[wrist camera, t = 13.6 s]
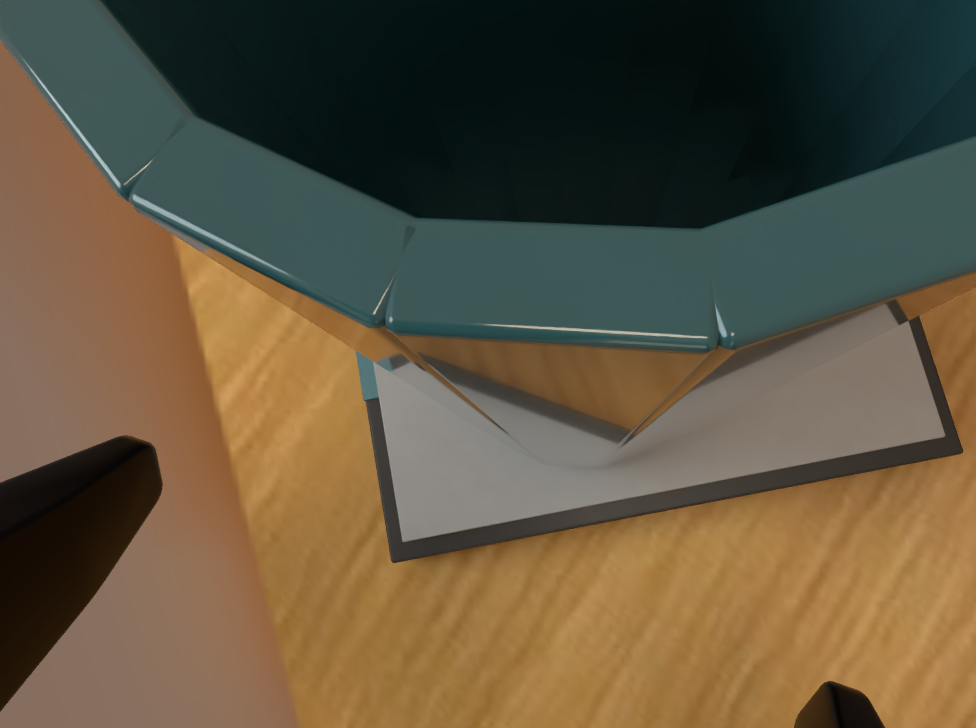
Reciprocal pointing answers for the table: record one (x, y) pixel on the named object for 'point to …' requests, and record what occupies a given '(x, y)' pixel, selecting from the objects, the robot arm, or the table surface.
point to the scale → (653, 452)
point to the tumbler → (546, 184)
